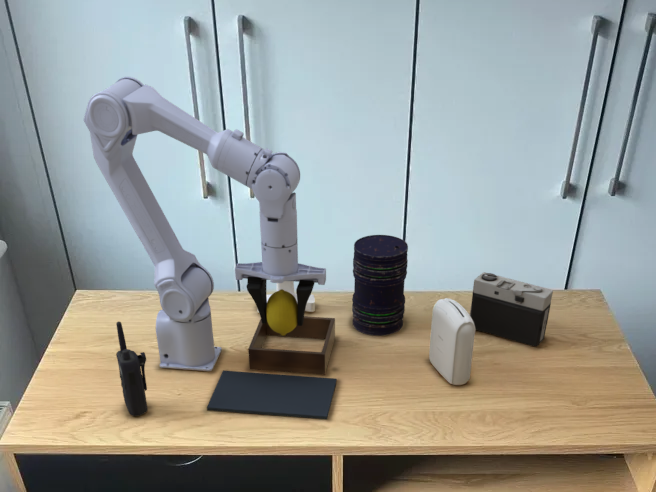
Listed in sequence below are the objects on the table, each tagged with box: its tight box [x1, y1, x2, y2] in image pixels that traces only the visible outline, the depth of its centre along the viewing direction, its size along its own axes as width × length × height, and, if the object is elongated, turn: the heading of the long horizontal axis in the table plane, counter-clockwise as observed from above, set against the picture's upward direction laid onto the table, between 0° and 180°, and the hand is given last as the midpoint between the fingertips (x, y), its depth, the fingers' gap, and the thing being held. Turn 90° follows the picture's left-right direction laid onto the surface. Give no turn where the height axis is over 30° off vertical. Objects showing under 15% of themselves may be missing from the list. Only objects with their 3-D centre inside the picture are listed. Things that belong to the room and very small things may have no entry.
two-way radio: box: [115, 321, 148, 417], centre depth 136 cm, size 6×4×15 cm
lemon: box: [266, 289, 298, 337], centre depth 143 cm, size 6×6×8 cm
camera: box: [469, 271, 554, 348], centre depth 158 cm, size 14×8×10 cm, turn 58°
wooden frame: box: [247, 315, 336, 376], centre depth 153 cm, size 13×13×4 cm
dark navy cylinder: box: [351, 234, 409, 337], centre depth 158 cm, size 10×10×15 cm
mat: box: [206, 370, 338, 420], centre depth 144 cm, size 20×12×1 cm, turn 83°
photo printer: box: [428, 297, 476, 386], centre depth 146 cm, size 10×4×12 cm, turn 20°
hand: (282, 321), depth 144 cm, fingers closed on lemon, 5 cm apart
